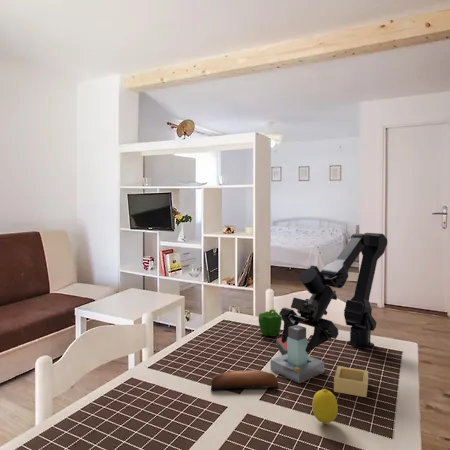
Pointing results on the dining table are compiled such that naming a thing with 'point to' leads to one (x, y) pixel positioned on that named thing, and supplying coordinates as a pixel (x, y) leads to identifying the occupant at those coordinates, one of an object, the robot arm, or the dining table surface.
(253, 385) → the sunglasses case
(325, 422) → the lemon
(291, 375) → the port block
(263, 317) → the bell pepper
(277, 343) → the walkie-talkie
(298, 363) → the plug
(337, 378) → the yellow square socket
